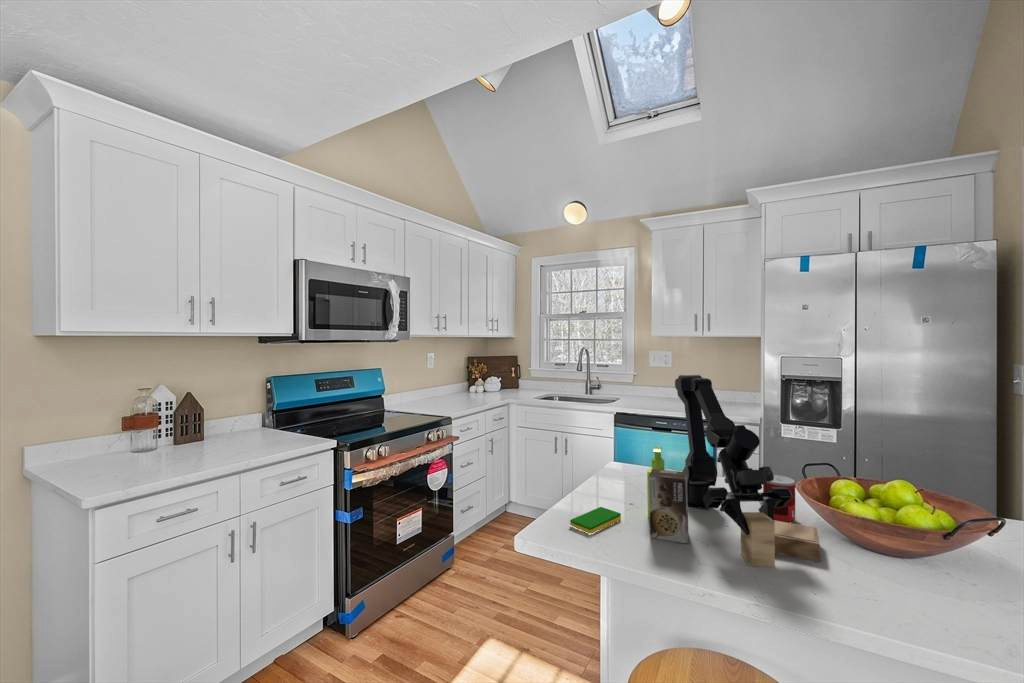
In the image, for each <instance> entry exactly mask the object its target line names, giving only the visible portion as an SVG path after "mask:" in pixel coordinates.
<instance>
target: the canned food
mask: <svg viewBox="0 0 1024 683" xmlns="http://www.w3.org/2000/svg"><path fill="white" fill-rule="evenodd" d="M773 476H774V480H773V481H767V483H768V484H767V485H765V484H763V485H762V490H763V491H762V493H766V492H767V491H768V490H769V489H770V488H771V487H786V488H788V489H789V490H790V491H791V494H792V496H793V498H792V499H791V500H790V501H789V502H788V504H787V505H786V506H785V507H782V508H774V520H776V521H782V522H788V523H790V522H793V521H794V522H795V521H796V481H795V480H794V479H793V478H791V477H788V476H785V475H779V474H773ZM794 522H793V523H794Z"/></svg>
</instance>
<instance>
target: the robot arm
mask: <svg viewBox="0 0 1024 683" xmlns="http://www.w3.org/2000/svg"><path fill="white" fill-rule="evenodd" d="M674 386H675V389H676V392H677V397H679V399H680V400H681V402H682V403H683V404H684V413H685V421H686V429H687V431H686V432H687V438H688V446H689V447H688V448H689V451H688V454H687V456H686V458H685V459H684V460H685V461H684V462H685V465H684V468H683V469H682V471H681V472H687V495H688V507H693V508H698V509H699V508H700V509H705V510H709V509H718V508H719V507H720V508H719V511H720V512H724V513H725V514H726V515H727V516H728V517H729V518H730V519H732V521H733V522H734V523H735V524H736V525H737V526H738V527H739V528H740V530H741V529H742V530H743V531H744V533H745V534H746V535H749V534H750V532H749V528H748V525H747V523H746V520H745V518H744V515H743V513H742V512H743V510H742V508H741V502H742V503H743V502H744V503H745V502H748V503H749V502H758V503H759V505H760V507H759V508H758V512H763V513H764V514H765V515H767V516H768V517H769V518H771V519H772V520H773V521H774V508H782V507H785V506H786V505H787V504H788V502H789V501H790V500H791V499H792V498H793V496H792V494H791V491H790V490H789V489H788V488H786V487H771V488H770V489H769V490H768V491H767V492H766V493H763V492H759V491H760V490H763V484H765V485H767V484H768V483H767V481H773V480H774V476H773V475H774V472H773V471H772V469H771V467H770V466H761V467H759V468H758V469H753V468H752V467H751V468H749V466H748V462H747V461H748V460H749V459H750V458H751V456H752V455H753V454H754V453H755V451H756V449H758V447H759V446H760V443H761V441H760V437H759V436H758V435H757V433H755V431H752V430H751V429H747V427H746V425H744V424H736V423H735V422H734V421H733V420H732V419H730V418H729V417H727V416H726V414H725V413H724V410H723V408H722V406H721V404H720V401H719V400H718V397H717V395H716V393H715V390H714V388H713V383H712V380H711V379H710V378H706V377H702V376H701V375H700V374H680V375H678V377H677V378H676V379H675V380H674ZM703 416H704V418H705V420H706V424H707V426H706V429H705V428H704V419H703ZM705 434H706V435H705ZM705 436H706V437H705ZM706 440H707V442H706ZM707 443H708V444H709V446H710V447H711V448H713V449H720V451H719V453H718V457H717V459H716V460H717V461H715V457H714V456H712V455H711V454H710V453H709V452H708V450H707ZM715 462H717V463H720V464H721V467H722V470H723V473H724V475H725V478H724V483H725V484H728V486H729V489H730V491H728V490H727V488H726V487H716V484H717V479H718V478H717V477H718V469H717V467H716V463H715Z"/></svg>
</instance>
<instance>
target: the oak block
mask: <svg viewBox="0 0 1024 683" xmlns="http://www.w3.org/2000/svg"><path fill="white" fill-rule="evenodd" d="M742 513H743V515H744V518H745V520H746V523H747V525H748V528H749V532H750V534H749V535H746V534H745V533H744V531H743V530H742V529H741V528H740V556H741V557H742V558H743V559H744V558H745V559H746V560H745V559H744V560H745V561H746V562H747V563H748V562H749V563H750V564H751V565H752V566H751V565H750V564H749V563H748V564H749V565H750V566H751V567H775V566H776V559H775V558H776V556H775V554H776V553H775V525H774V521H773V520H772V519H771V518H769V517H768V516H767V515H765V514H764V513H763V512H759V511H757V512H755V511H754V512H752V511H750V512H747V511H745V512H743V511H742Z"/></svg>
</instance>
